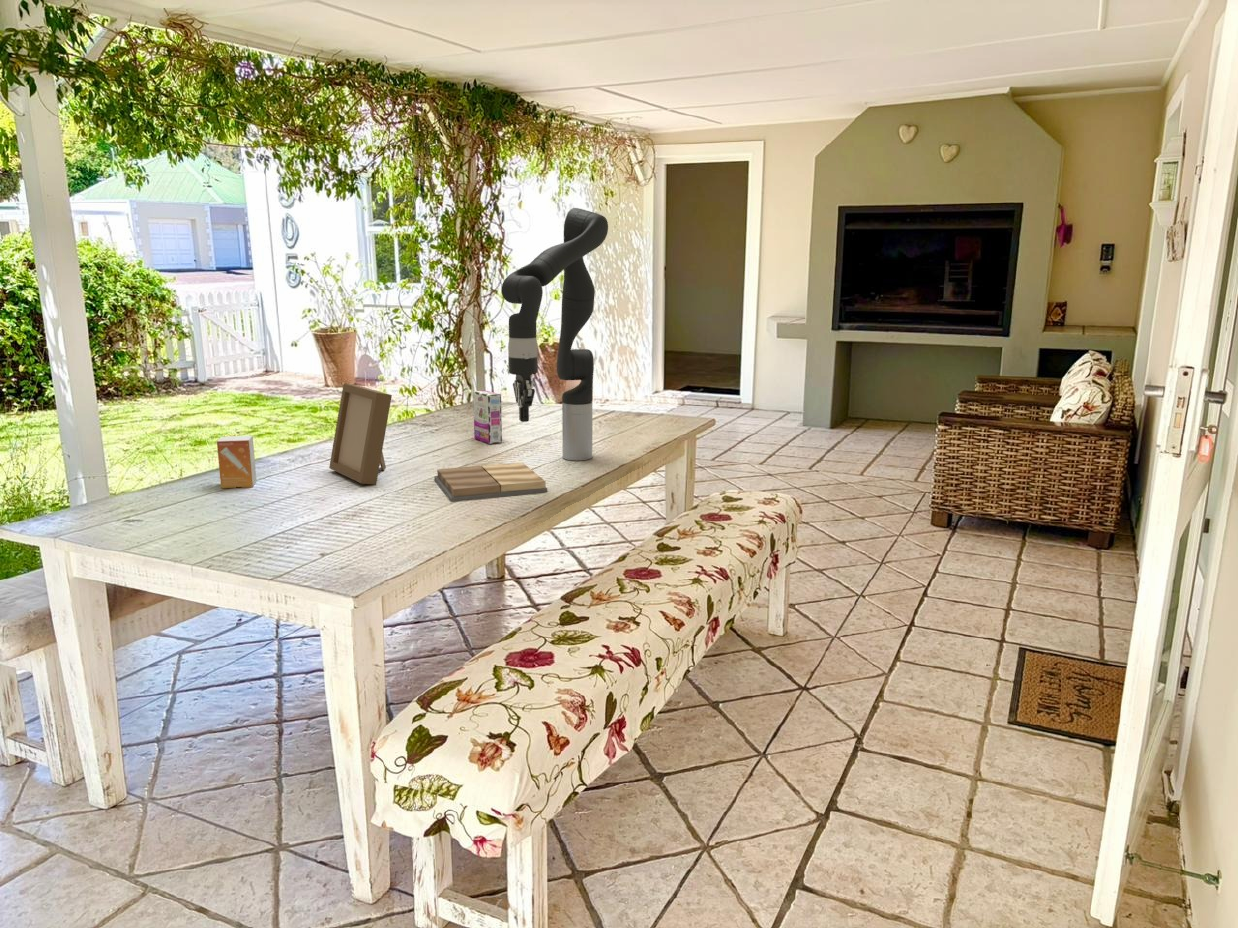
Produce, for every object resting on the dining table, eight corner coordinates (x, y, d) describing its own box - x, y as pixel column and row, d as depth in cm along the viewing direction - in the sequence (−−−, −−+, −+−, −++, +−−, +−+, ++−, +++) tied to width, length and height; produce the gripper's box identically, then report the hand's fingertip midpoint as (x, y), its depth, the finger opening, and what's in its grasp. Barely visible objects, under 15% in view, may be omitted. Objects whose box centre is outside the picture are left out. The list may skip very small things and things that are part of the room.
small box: (220, 489, 230) (215, 441, 227) (225, 483, 236) (220, 436, 233) (253, 487, 232) (249, 439, 229) (257, 481, 238) (252, 434, 235)
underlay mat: (434, 479, 241) (434, 476, 240) (523, 471, 250) (523, 468, 250) (451, 501, 220) (450, 497, 220) (547, 492, 229) (547, 488, 229)
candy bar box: (503, 443, 287) (501, 394, 283) (489, 444, 284) (488, 395, 280) (486, 437, 296) (485, 389, 292) (473, 439, 293) (472, 390, 289)
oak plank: (481, 472, 245) (481, 465, 244) (522, 469, 249) (522, 462, 249) (501, 491, 225) (501, 484, 224) (545, 488, 229) (545, 481, 229)
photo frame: (361, 487, 232) (356, 394, 227) (329, 471, 249) (324, 384, 243) (412, 479, 242) (408, 389, 236) (378, 464, 258) (374, 380, 252)
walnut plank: (437, 476, 240) (437, 469, 240) (480, 472, 245) (480, 465, 244) (453, 496, 220) (453, 489, 220) (499, 492, 225) (499, 484, 224)
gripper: (502, 352, 228) (503, 417, 232) (515, 358, 216) (516, 427, 220) (530, 351, 230) (531, 415, 235) (544, 357, 219) (545, 425, 223)
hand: (524, 421), depth 227 cm, fingers closed
